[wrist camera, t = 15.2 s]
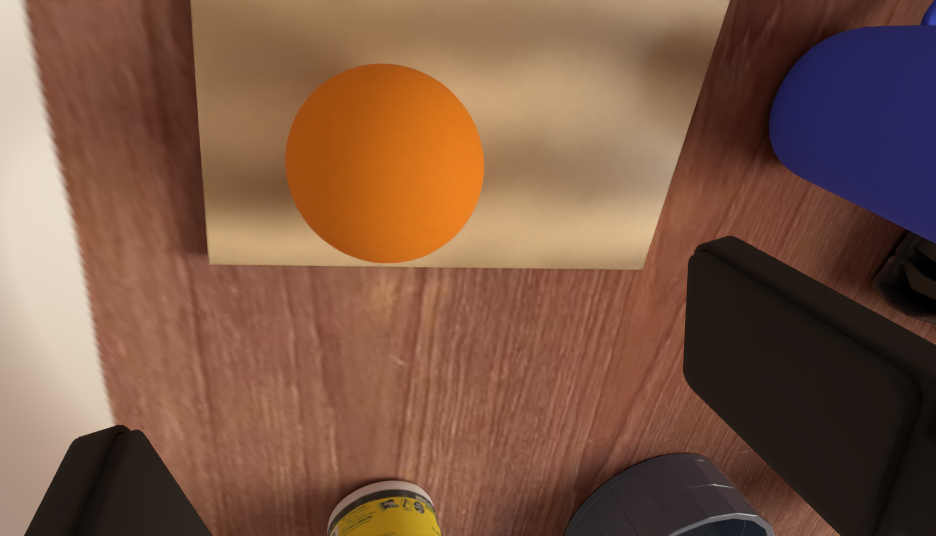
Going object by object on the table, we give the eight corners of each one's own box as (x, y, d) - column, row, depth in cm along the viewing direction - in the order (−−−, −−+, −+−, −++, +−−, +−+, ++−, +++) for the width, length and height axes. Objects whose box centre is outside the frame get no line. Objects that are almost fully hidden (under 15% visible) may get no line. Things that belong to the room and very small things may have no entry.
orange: (305, 259, 20) (348, 322, 15) (244, 88, 18) (270, 91, 12) (451, 208, 22) (535, 247, 17) (416, 50, 20) (502, 37, 14)
